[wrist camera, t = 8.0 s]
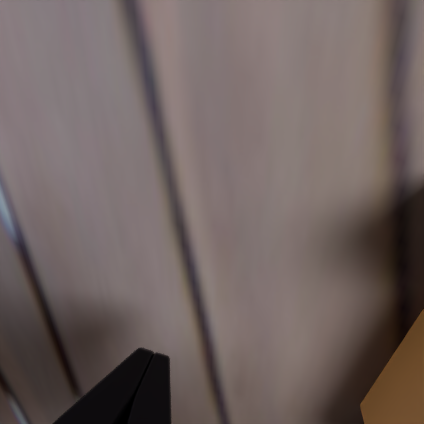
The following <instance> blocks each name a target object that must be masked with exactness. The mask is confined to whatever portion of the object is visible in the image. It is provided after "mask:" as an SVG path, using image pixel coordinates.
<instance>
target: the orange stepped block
mask: <svg viewBox="0 0 424 424" xmlns="http://www.w3.org/2000/svg"><path fill="white" fill-rule="evenodd" d="M360 408H361V412H362V416H363V421H364V424H424V309H423V310H422V312H421V313H420V315H419V316H418V318H417V319H416V321H415V322H414V324H413V325H412V327H411V328H410V330H409V331H408V333H407V334H406V336H405V337H404V339H403V340H402V342H401V343H400V345H399V346H398V348H397V349H396V351H395V352H394V354H393V356H392V357H391V359H390V360H389V362H388V363H387V365H386V366H385V368H384V369H383V371H382V372H381V374H380V375H379V377H378V378H377V380H376V381H375V383H374V384H373V386H372V387H371V389H370V390H369V392H368V393H367V395H366V396H365V398H364V399H363V401H362V402H361V404H360Z"/></svg>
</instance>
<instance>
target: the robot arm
mask: <svg viewBox="0 0 424 424" xmlns="http://www.w3.org/2000/svg"><path fill="white" fill-rule="evenodd" d="M53 424H171V393H170V359H169V356H167V355H164V354H161V353H154V352H153V351H151V350H148V349H145V348H138V349H137V350H135V351H134V352H133V353H132V354H131V355H130V356H129V357H127V358H126V359H125V360H124V361H123V362H122V363H121V364H120V365H118V366H117V367H116V368H115V369H114V370H113V371H112V372H110V373H109V374H108V375H107V376H106V377H105V378H104V379H102V380H101V381H100V382H99V383H98V384H97V385H96V386H95V387H93V388H92V389H91V390H90V391H89V392H88V393H87V394H85V395H84V396H83V397H82V398H81V399H80V400H79V401H78V402H76V403H75V404H74V405H73V406H72V407H71V408H70V409H68V410H67V411H66V412H65V413H64V414H63V415H62V416H61V417H59V418H58V419H57V420H56V421H55V422H54V423H53Z"/></svg>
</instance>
